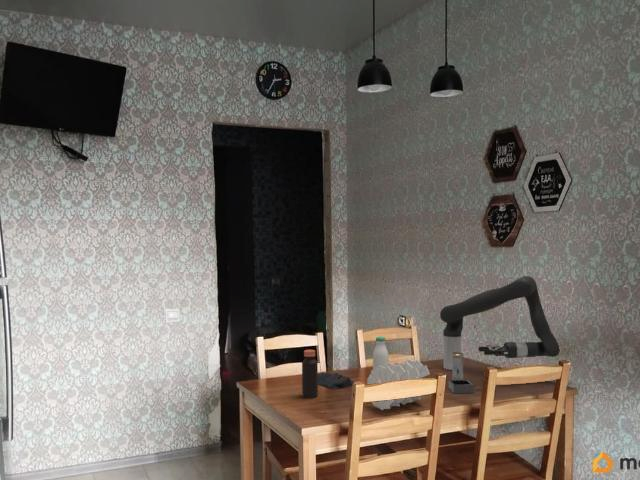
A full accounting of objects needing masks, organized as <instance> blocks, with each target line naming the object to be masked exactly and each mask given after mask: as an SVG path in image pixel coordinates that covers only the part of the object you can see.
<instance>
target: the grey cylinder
mask: <svg viewBox="0 0 640 480" xmlns="http://www.w3.org/2000/svg"><path fill="white" fill-rule="evenodd" d="M464 356H465V355H464V353H463V352H461V353H458V352H455V353H452V363H453V370H452V380H464Z"/></svg>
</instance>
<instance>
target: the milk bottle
mask: <svg viewBox="0 0 640 480" xmlns="http://www.w3.org/2000/svg"><path fill="white" fill-rule="evenodd" d="M375 343H376V344H375V347H374V349H373V353H372V370H374V369H376V368H378V366H382V367H384V366H388V365H389V364H390V361H389V358H390V357H389V352H388V349H387V346H386V337H384V336H377V337H376V336H375Z"/></svg>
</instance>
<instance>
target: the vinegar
mask: <svg viewBox="0 0 640 480" xmlns="http://www.w3.org/2000/svg"><path fill="white" fill-rule="evenodd" d="M303 356H304V359H303V361H302V362H301V381H302V382H301V383H302V384H301V385H302V386H301V391H302V392H301V393H302V394H301V396H302V397H303V398H304V399H315V398H317V397H318V395H319V387H318V386H319V385H318V374H319V373H318V368H319V367H318V361H317V360H316V359H315V357H316V350H314V349H305V350H304V351H303Z"/></svg>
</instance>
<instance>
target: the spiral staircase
mask: <svg viewBox="0 0 640 480" xmlns="http://www.w3.org/2000/svg"><path fill="white" fill-rule="evenodd" d="M429 375H430V371H429V368H428V366H427V365H426V364H425V365H423V363H421V361H419V359H415V360H412V359H408V358H407V361H405V362H401V361H400V362H399V361H397V362H396V364H394V363H392V362H389V365H388V366H384V367H382V366H378V368H376V369H374V370H373V369H372V370H370V374H369V376H367V379H366V382H367V384H374V383H381V382H387V381H393V380H401V379H412V378H420V379H421V378H424V377H427V376H429ZM421 400H422V399H421V396H419V397H413V398H405V399H404V398H403V399H396V400H387V401H379V402H371V403H372V405H373V406H374V408H375V407H376V408H377V409H379V410H381V411H384V410H390V409H391V408H393V407H400V406H401V405H403V406H405V405H406V404H409V403H414V401H421ZM400 404H401V405H400Z"/></svg>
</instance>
